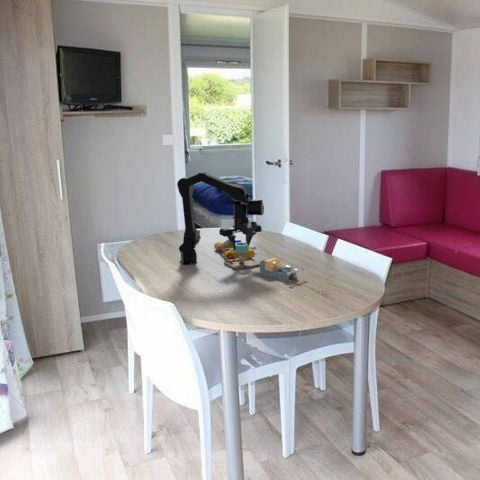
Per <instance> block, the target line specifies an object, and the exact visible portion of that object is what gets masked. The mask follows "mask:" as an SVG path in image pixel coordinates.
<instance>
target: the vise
mask: <svg viewBox="0 0 480 480" xmlns="http://www.w3.org/2000/svg"><path fill="white" fill-rule="evenodd" d="M259 264H260V266H259V277H269V278H273V279H276V280H278V282H281V283H286V282H288V281H290V278H291V279H292V280H293V279H296V278H298V275H297V274H298V273H299V271H305V269H306V268H305V267H304V266H301V267H300V268H299V269H298V268H297V267H293V266H291V265H286V266H285V265H282V263H281V262H280V260H279V258H278V257H274V256H273V257H268V258H266V259H265V258H264V259H262V260H260V262H259Z"/></svg>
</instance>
